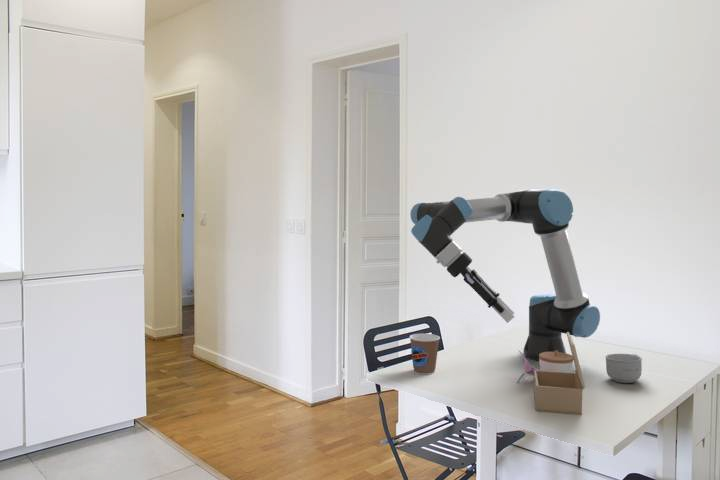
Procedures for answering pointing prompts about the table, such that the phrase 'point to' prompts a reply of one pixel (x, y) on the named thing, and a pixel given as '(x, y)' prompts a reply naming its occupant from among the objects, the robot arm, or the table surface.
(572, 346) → the lid
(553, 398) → the mailer box
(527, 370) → the lily
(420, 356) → the coffee cup
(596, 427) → the table surface
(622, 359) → the teacup
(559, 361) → the lidded jar
